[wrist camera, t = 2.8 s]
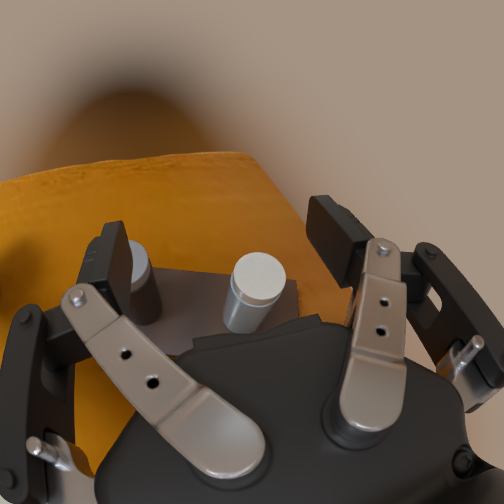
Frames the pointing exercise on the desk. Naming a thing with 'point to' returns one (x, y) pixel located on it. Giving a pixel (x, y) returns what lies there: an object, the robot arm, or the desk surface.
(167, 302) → the desk shelf
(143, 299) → the dark shaker
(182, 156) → the desk surface
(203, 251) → the desk surface
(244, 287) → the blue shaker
